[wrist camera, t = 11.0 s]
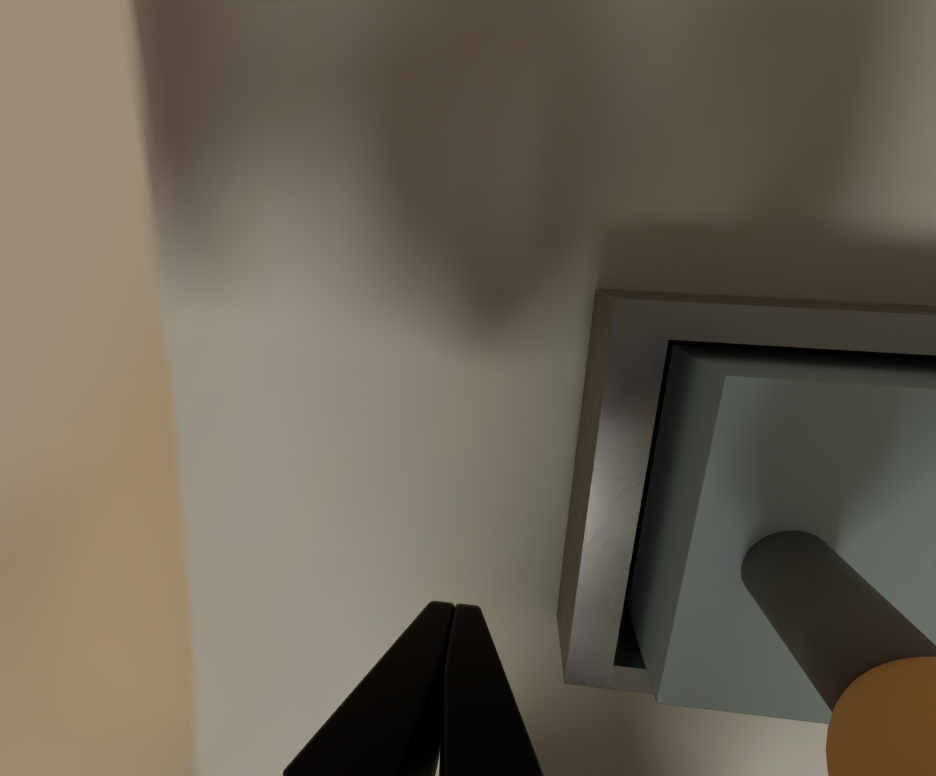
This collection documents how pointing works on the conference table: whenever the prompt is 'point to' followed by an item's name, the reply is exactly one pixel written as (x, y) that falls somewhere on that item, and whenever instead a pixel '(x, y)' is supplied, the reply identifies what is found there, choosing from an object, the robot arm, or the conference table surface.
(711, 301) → the press frame
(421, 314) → the conference table surface
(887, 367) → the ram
